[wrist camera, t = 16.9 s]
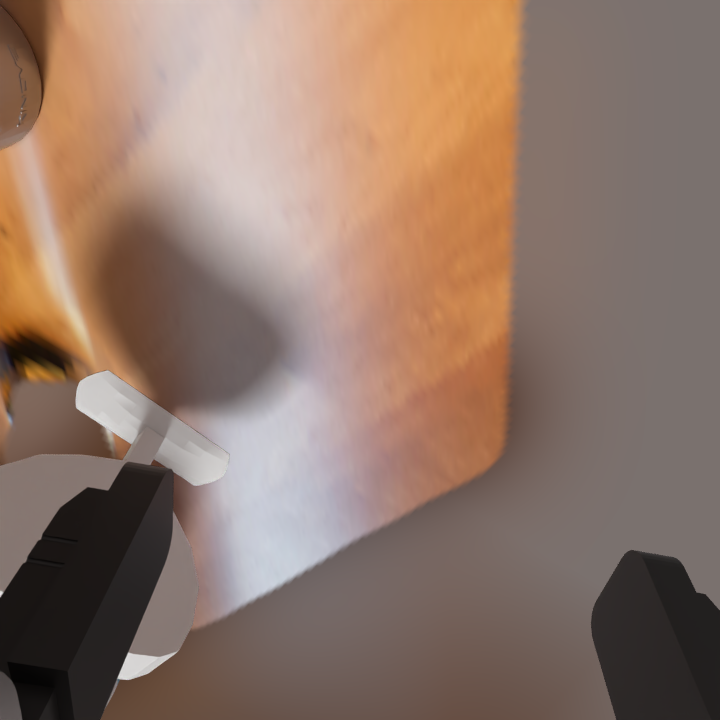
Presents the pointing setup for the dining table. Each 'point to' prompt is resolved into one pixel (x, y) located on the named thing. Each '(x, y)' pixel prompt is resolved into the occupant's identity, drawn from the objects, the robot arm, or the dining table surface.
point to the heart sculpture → (77, 472)
